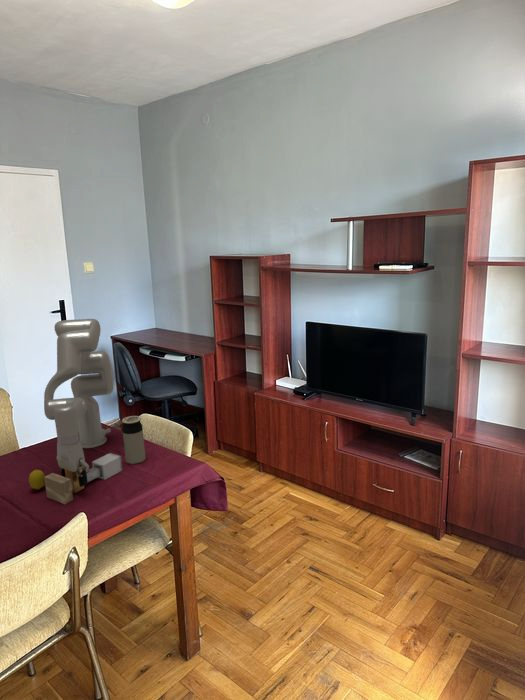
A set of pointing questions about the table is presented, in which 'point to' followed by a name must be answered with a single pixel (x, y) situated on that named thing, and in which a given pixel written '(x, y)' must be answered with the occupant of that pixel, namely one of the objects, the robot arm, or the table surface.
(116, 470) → the sleeve
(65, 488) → the socket block
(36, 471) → the lemon
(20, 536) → the table surface
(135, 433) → the travel mug
